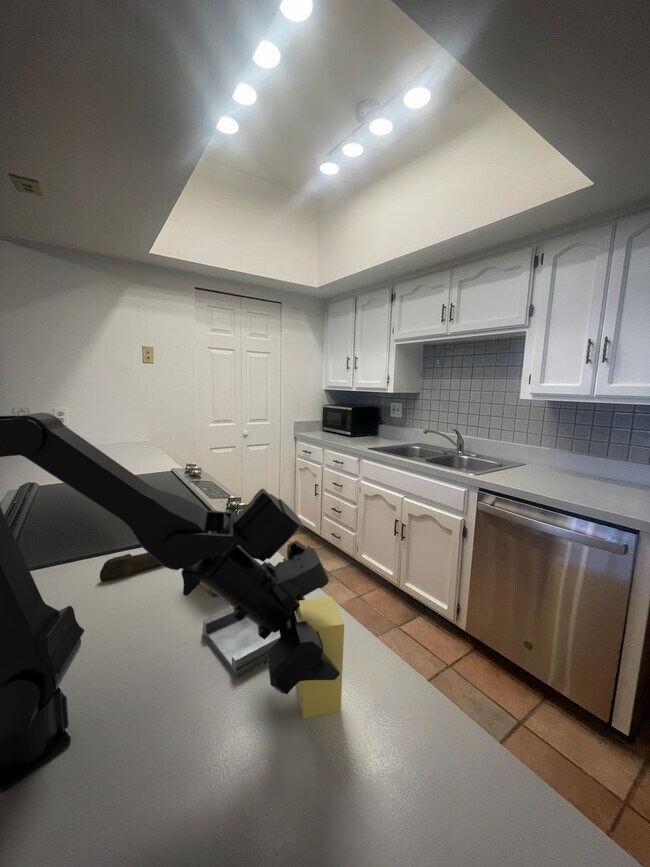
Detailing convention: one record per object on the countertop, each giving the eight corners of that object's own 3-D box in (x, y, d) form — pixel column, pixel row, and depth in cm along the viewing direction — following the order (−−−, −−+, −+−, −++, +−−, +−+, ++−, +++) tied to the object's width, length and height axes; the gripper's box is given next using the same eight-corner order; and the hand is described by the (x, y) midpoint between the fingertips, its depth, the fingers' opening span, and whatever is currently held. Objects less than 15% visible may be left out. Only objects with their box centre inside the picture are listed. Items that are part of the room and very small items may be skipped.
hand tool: (187, 552, 90) (186, 535, 89) (193, 559, 87) (192, 541, 86) (97, 576, 78) (96, 556, 77) (101, 585, 75) (99, 564, 74)
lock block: (303, 718, 46) (305, 629, 44) (295, 681, 52) (297, 600, 50) (340, 711, 47) (344, 624, 46) (329, 675, 53) (331, 596, 51)
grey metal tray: (236, 678, 52) (236, 646, 51) (202, 634, 61) (201, 605, 60) (311, 635, 61) (312, 607, 60) (272, 602, 70) (272, 577, 69)
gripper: (305, 573, 36) (399, 654, 41) (280, 509, 54) (348, 570, 59) (225, 657, 36) (329, 730, 40) (227, 564, 53) (299, 622, 58)
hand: (327, 649), depth 49 cm, fingers open, 9 cm apart
